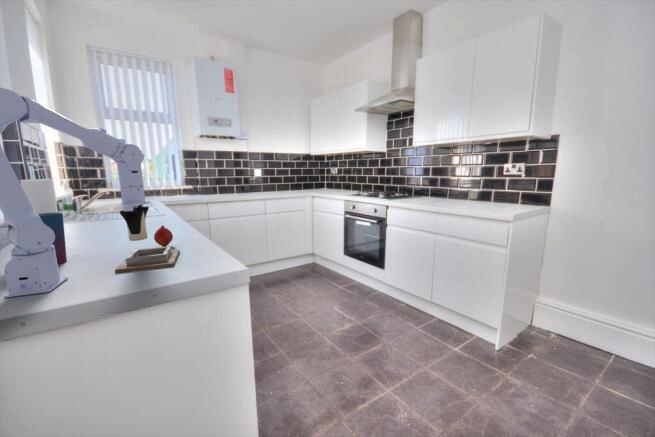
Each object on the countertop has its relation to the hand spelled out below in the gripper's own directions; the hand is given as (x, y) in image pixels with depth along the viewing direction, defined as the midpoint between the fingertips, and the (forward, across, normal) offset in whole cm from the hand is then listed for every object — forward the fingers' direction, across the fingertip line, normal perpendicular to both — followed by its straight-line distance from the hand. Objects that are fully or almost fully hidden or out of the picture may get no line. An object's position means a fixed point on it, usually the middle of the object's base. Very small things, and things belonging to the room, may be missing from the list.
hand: (137, 232), depth 86 cm
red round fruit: (+9, +17, -4) cm, 20 cm away
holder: (+9, -1, -3) cm, 10 cm away
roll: (+2, 0, 0) cm, 2 cm away
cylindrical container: (+9, +18, +29) cm, 35 cm away
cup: (+9, +9, +24) cm, 27 cm away
